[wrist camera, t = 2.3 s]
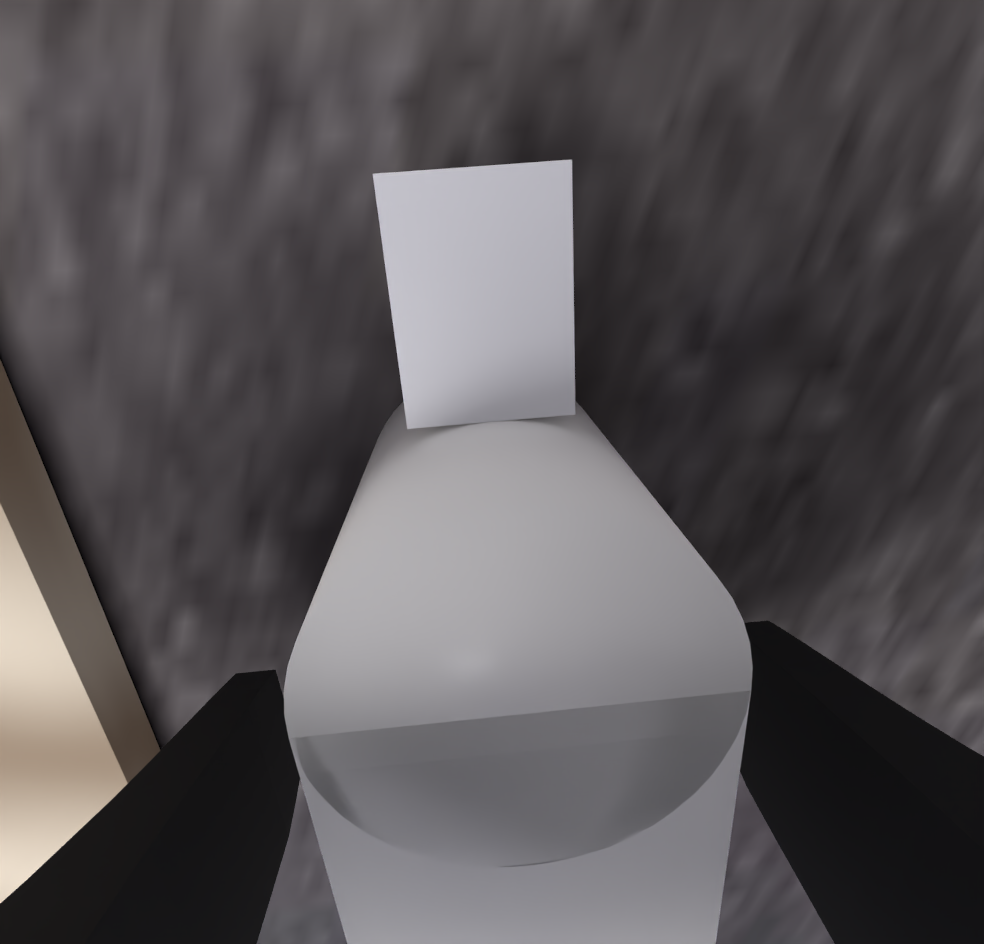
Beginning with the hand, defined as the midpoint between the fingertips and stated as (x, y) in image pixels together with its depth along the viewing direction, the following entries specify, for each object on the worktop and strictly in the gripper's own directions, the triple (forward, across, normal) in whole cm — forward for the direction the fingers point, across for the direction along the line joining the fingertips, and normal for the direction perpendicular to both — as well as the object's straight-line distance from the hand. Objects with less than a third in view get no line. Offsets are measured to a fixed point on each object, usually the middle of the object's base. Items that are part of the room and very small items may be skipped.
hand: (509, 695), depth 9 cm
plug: (+2, 0, -1) cm, 2 cm away
